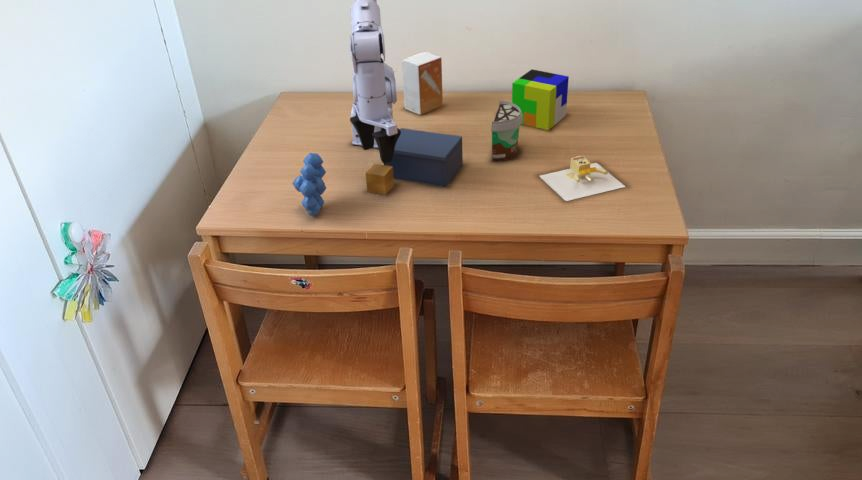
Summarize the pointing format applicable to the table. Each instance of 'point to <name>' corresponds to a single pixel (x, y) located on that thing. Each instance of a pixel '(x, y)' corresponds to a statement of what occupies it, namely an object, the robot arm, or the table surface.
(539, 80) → the puzzle toy
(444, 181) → the toy box
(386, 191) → the block
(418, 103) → the small box
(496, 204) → the table surface
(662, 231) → the table surface
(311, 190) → the grapes
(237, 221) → the table surface
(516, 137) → the food container
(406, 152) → the lid
